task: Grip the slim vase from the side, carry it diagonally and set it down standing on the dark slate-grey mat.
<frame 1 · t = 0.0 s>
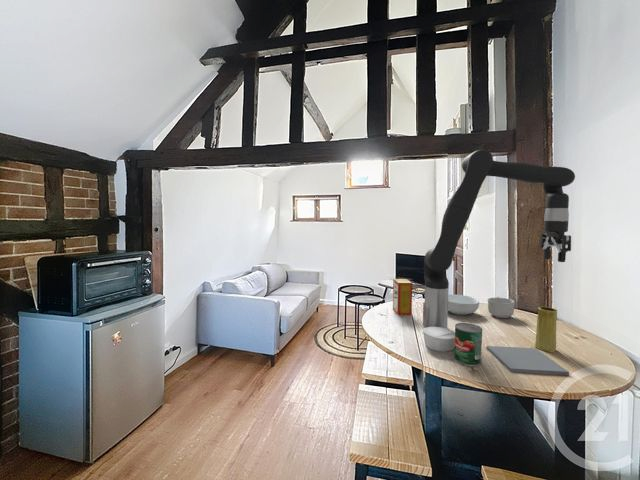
hand: (554, 260, 117), 29 cm above the table, tool pointing down, fingers open, 8 cm apart
vase: (545, 348, 103), on the table
slate mat: (523, 360, 94), on the table
teacup: (500, 315, 140), on the table
ramekin: (439, 347, 105), on the table
baking soda box: (401, 312, 144), on the table
canned tomato: (467, 360, 94), on the table
cereal bowl: (459, 313, 144), on the table
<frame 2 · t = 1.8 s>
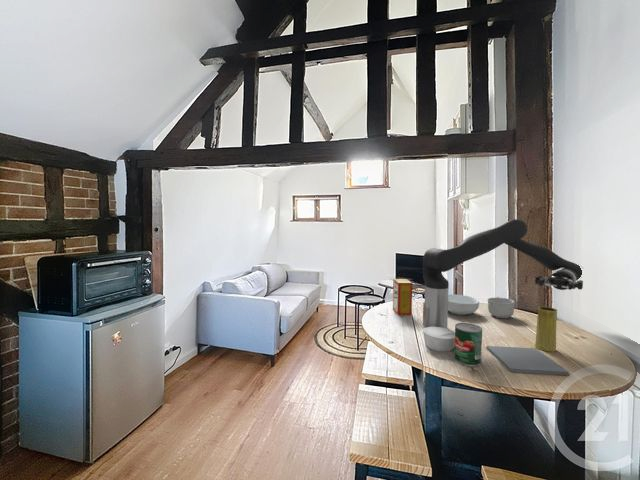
hand: (554, 285, 109), 21 cm above the table, tool horizontal, fingers open, 8 cm apart
nothing on the table moved.
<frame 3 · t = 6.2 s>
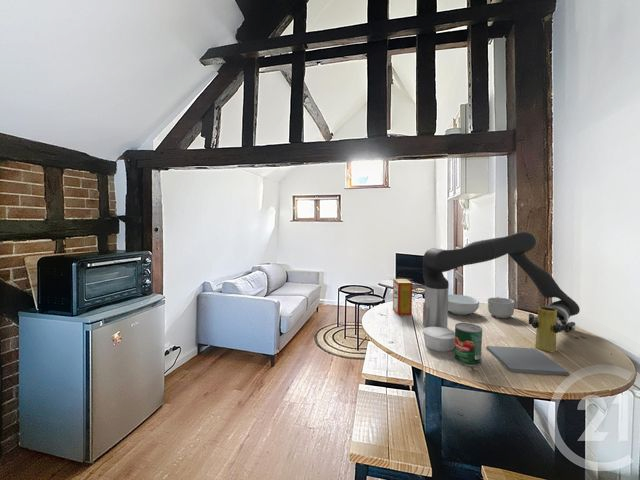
hand: (545, 327, 101), 8 cm above the table, tool horizontal, fingers closed on vase, 5 cm apart
vase: (545, 348, 103), on the table, touching gripper
everything else where it was.
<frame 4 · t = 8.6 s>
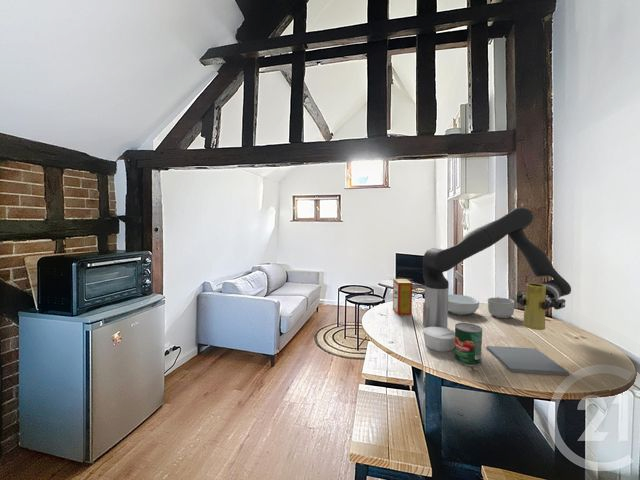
hand: (533, 304, 95), 18 cm above the table, tool horizontal, fingers closed on vase, 5 cm apart
vase: (533, 327, 97), point 9 cm above the table, touching gripper
everything else where it was.
when the fingers open (10 cm above the table, at t = 11.5 s): vase drops 1 cm, resting on slate mat.
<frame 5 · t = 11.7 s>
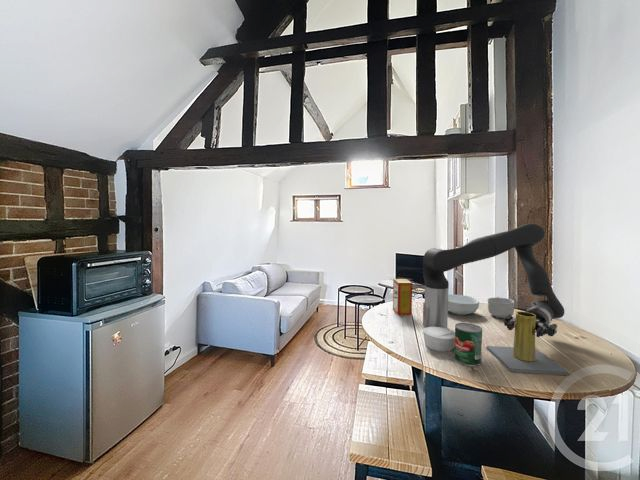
hand: (523, 330, 92), 10 cm above the table, tool horizontal, fingers open, 7 cm apart
vase: (523, 357, 94), point 1 cm above the table, touching slate mat
everything else where it was.
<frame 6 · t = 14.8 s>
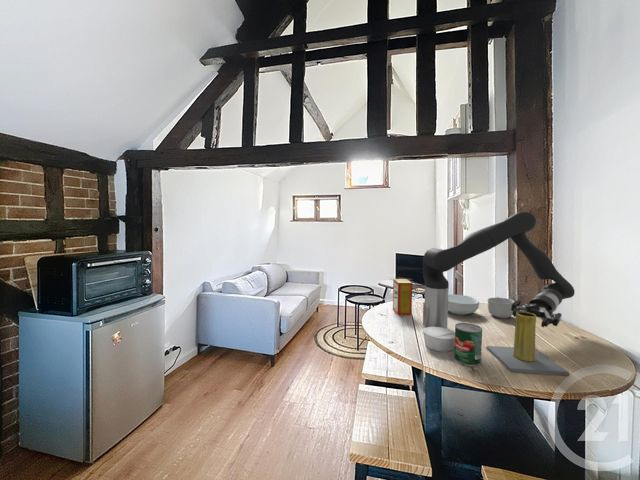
hand: (528, 319, 103), 10 cm above the table, tool horizontal, fingers open, 8 cm apart
nothing on the table moved.
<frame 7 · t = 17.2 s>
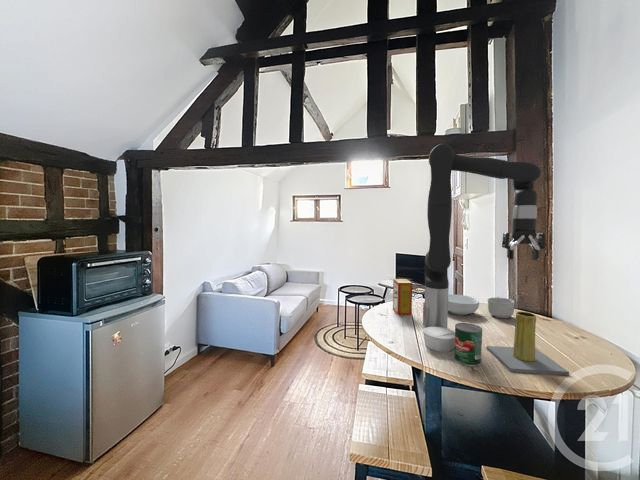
hand: (522, 259, 113), 30 cm above the table, tool pointing down, fingers open, 8 cm apart
nothing on the table moved.
at the end: vase inside the target area on the slate mat (0.1 cm from its centre), point 0.8 cm above the slate mat's base; vase tilted 0°; the gripper is holding nothing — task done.
